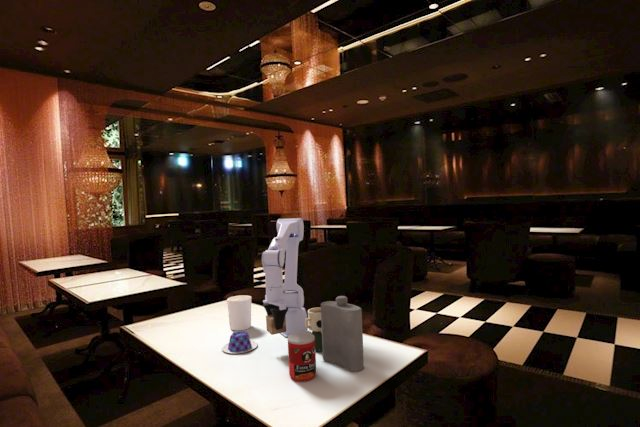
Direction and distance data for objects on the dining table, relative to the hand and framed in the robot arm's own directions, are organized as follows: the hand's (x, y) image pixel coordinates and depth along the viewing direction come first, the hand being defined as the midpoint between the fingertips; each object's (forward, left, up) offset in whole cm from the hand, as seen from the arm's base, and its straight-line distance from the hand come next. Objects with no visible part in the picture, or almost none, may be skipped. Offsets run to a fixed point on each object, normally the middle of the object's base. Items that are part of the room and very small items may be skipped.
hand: (276, 326), depth 120 cm
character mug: (-13, +5, -9) cm, 17 cm away
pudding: (+10, -11, -9) cm, 17 cm away
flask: (-14, +19, -9) cm, 26 cm away
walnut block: (0, 0, -2) cm, 2 cm away
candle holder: (+4, -33, -9) cm, 34 cm away
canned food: (0, +20, -9) cm, 22 cm away
